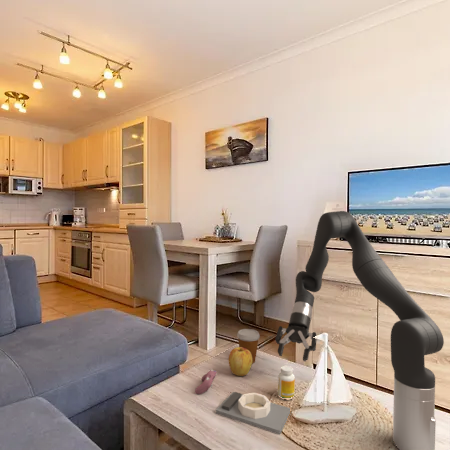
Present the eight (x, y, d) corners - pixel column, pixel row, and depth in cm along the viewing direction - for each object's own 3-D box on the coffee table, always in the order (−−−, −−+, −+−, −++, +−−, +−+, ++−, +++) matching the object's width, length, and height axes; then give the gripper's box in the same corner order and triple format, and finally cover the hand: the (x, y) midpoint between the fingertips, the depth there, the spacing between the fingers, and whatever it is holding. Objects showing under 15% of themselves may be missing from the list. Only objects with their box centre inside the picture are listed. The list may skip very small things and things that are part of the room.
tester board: (291, 411, 98) (292, 400, 98) (279, 434, 88) (280, 421, 88) (233, 394, 107) (233, 384, 107) (215, 413, 97) (216, 401, 97)
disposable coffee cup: (258, 367, 128) (259, 337, 128) (235, 365, 130) (235, 335, 130) (259, 357, 138) (260, 329, 138) (237, 355, 139) (238, 327, 139)
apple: (252, 369, 126) (253, 344, 126) (251, 380, 117) (251, 353, 117) (229, 367, 127) (230, 342, 127) (226, 378, 118) (227, 351, 118)
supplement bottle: (274, 394, 108) (275, 366, 108) (287, 391, 110) (287, 363, 110) (285, 402, 103) (285, 373, 103) (297, 398, 106) (298, 369, 106)
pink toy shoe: (204, 400, 106) (214, 383, 106) (193, 393, 107) (202, 375, 106) (211, 386, 116) (220, 369, 115) (201, 379, 117) (209, 362, 116)
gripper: (280, 308, 123) (270, 348, 113) (318, 314, 116) (311, 357, 106) (284, 319, 128) (274, 358, 118) (321, 324, 121) (314, 367, 111)
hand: (292, 357), depth 112 cm, fingers open, 8 cm apart
